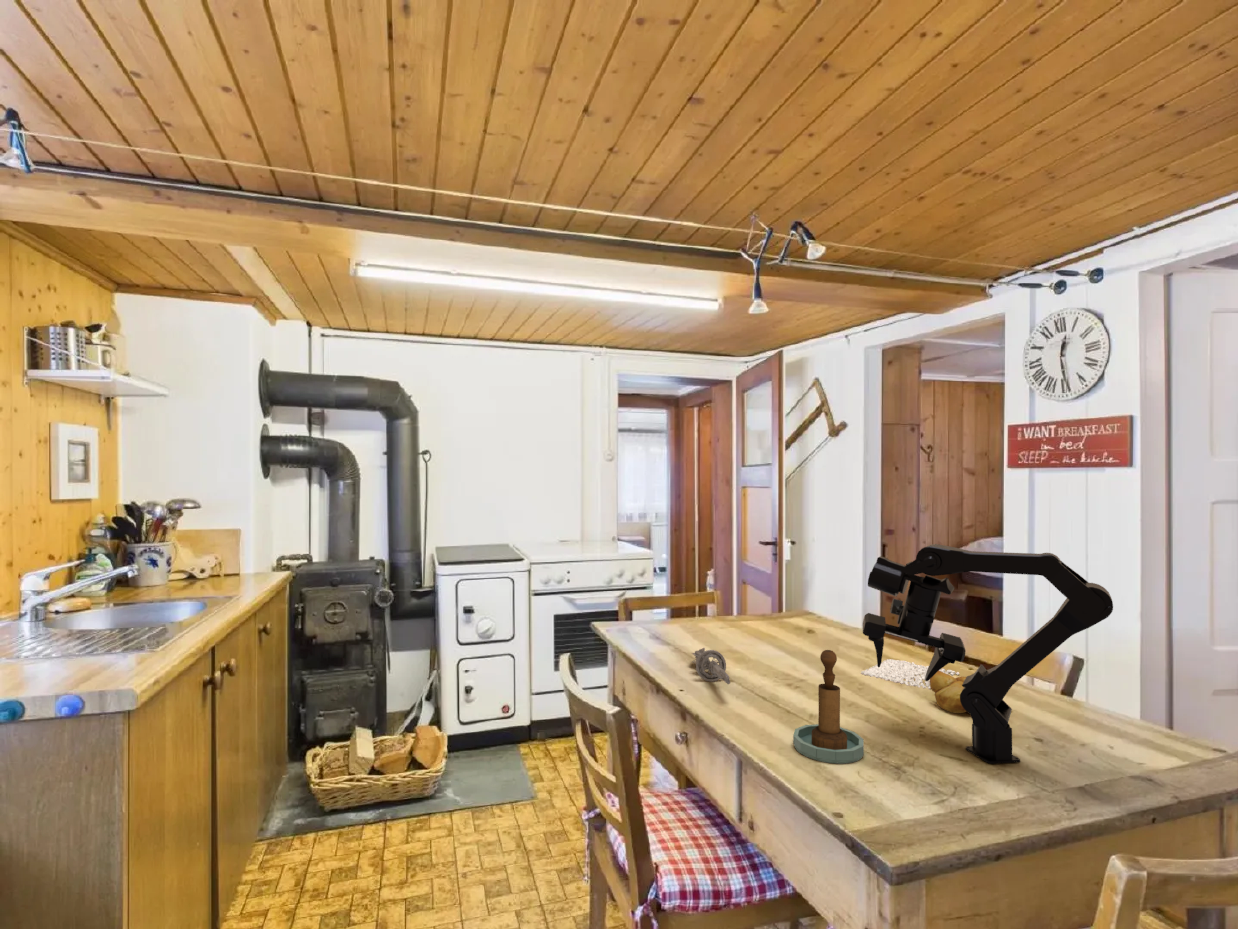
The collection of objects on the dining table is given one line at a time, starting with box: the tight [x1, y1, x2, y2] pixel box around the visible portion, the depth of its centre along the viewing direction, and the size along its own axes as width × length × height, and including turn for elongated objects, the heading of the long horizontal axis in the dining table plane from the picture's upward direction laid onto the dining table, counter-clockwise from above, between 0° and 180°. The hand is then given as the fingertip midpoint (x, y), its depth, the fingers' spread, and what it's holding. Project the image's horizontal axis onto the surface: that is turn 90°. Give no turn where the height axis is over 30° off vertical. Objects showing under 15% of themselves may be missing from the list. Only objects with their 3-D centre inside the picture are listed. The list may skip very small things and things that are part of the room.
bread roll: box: [929, 671, 969, 714], centre depth 140 cm, size 13×10×8 cm
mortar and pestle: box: [812, 649, 847, 750], centre depth 119 cm, size 7×6×18 cm
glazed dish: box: [792, 723, 865, 765], centre depth 119 cm, size 13×13×2 cm
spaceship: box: [691, 647, 731, 685], centre depth 159 cm, size 8×35×8 cm
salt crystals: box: [860, 658, 960, 690], centre depth 165 cm, size 20×20×2 cm
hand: (902, 673), depth 128 cm, fingers open, 9 cm apart
